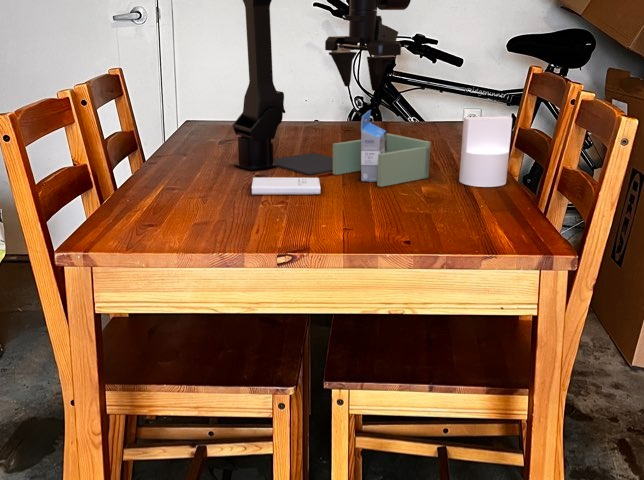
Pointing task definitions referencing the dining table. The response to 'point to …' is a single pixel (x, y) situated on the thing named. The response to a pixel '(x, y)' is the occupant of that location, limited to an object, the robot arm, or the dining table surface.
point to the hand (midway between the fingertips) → (360, 88)
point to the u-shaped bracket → (387, 159)
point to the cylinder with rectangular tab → (485, 151)
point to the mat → (306, 163)
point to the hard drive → (285, 186)
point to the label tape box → (371, 148)
